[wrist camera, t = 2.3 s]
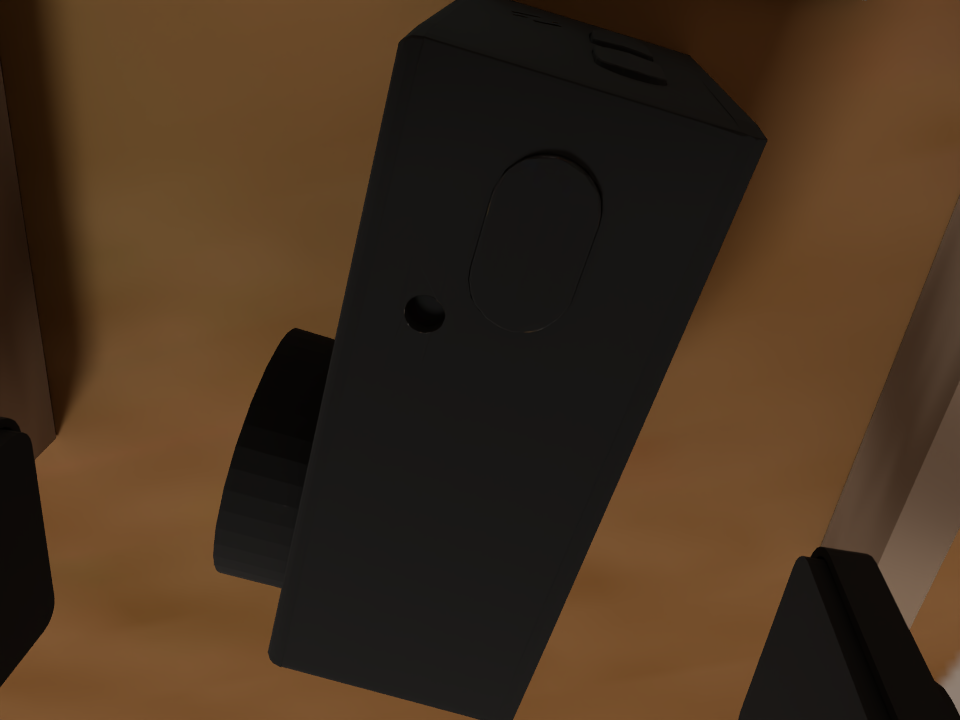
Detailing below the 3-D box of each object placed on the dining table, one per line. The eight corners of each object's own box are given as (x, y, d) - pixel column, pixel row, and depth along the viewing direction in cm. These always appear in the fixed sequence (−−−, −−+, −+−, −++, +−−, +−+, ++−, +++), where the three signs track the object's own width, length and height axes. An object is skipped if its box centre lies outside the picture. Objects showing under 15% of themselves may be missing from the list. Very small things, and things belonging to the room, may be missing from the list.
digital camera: (405, -41, 15) (294, -15, 9) (691, 47, 15) (775, 132, 9) (307, 425, 20) (192, 650, 14) (526, 486, 20) (509, 735, 14)
